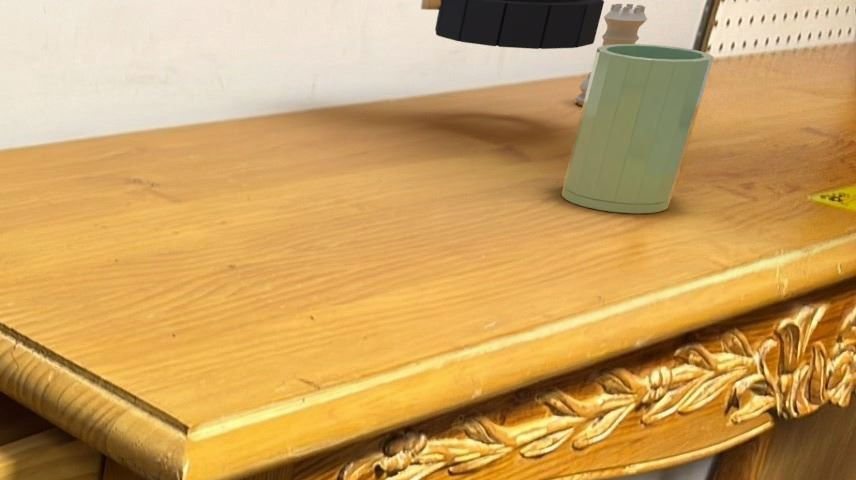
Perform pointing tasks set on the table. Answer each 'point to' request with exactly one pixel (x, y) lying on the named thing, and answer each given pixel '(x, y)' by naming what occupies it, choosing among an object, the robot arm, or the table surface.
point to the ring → (520, 22)
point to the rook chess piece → (618, 32)
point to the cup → (635, 127)
